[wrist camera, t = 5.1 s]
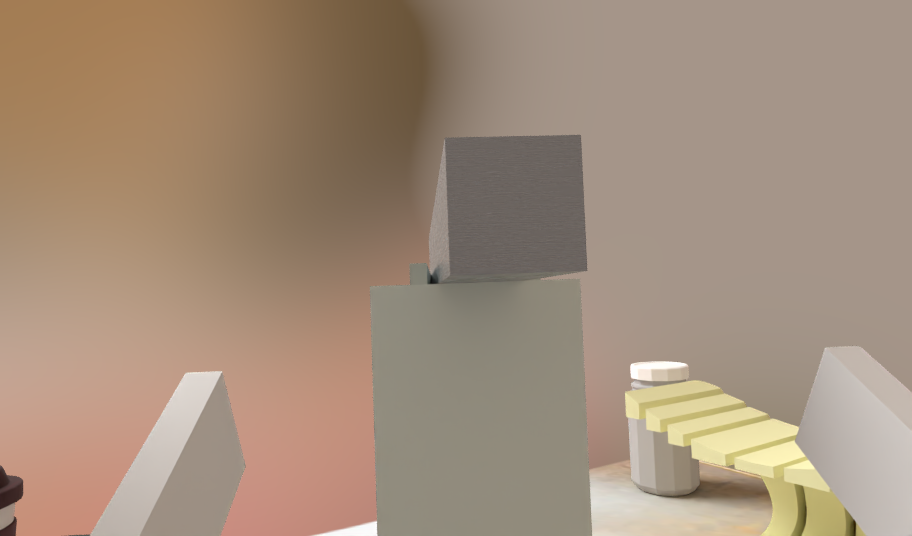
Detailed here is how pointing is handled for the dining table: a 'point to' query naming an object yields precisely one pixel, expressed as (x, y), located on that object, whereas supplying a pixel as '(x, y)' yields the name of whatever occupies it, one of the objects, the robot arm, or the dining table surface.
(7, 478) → the coffee cup
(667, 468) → the jar
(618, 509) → the dining table surface
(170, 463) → the robot arm
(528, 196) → the bar
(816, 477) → the slatted curved stool
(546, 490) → the stand
